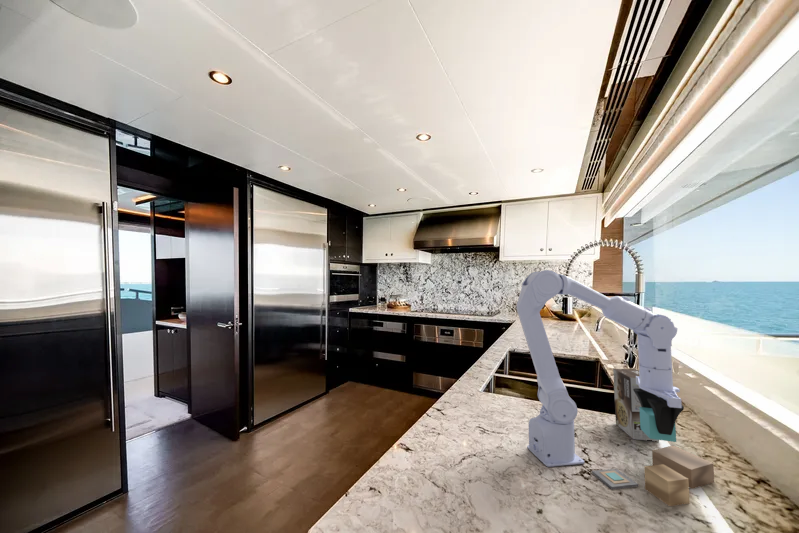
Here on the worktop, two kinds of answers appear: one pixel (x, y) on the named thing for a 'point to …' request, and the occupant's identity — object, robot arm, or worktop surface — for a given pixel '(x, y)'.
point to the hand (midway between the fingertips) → (658, 427)
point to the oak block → (667, 485)
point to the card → (615, 479)
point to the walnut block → (685, 465)
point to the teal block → (653, 426)
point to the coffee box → (628, 403)
